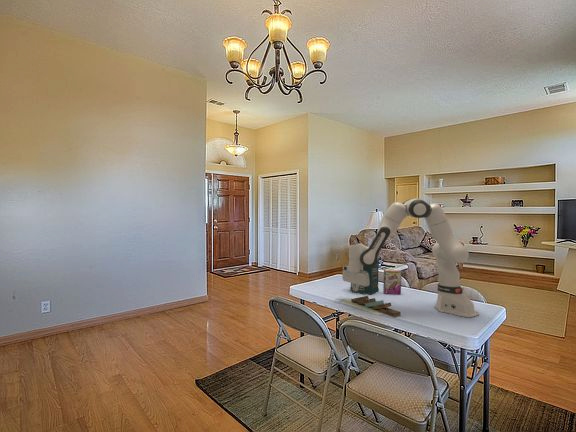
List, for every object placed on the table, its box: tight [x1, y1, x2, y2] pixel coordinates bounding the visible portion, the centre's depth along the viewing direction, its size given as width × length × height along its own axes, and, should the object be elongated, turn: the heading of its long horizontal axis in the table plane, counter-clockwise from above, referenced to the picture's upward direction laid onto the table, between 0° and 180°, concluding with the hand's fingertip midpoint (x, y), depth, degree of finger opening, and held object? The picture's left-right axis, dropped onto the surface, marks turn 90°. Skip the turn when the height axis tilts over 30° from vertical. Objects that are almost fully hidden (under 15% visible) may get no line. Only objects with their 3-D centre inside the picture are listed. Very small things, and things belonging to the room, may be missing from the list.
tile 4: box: [358, 297, 377, 305], centre depth 185 cm, size 2×5×10 cm
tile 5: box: [350, 295, 370, 302], centre depth 189 cm, size 2×5×10 cm
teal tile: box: [365, 300, 385, 307], centre depth 180 cm, size 2×5×10 cm
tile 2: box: [372, 302, 393, 310], centre depth 175 cm, size 2×5×10 cm
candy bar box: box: [383, 268, 402, 295], centre depth 215 cm, size 11×5×16 cm, turn 84°
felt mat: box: [339, 297, 385, 316], centre depth 185 cm, size 31×15×1 cm, turn 33°
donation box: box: [349, 257, 380, 296], centre depth 219 cm, size 16×16×28 cm
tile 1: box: [380, 307, 402, 318], centre depth 170 cm, size 2×5×10 cm
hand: (355, 290), depth 192 cm, fingers closed
